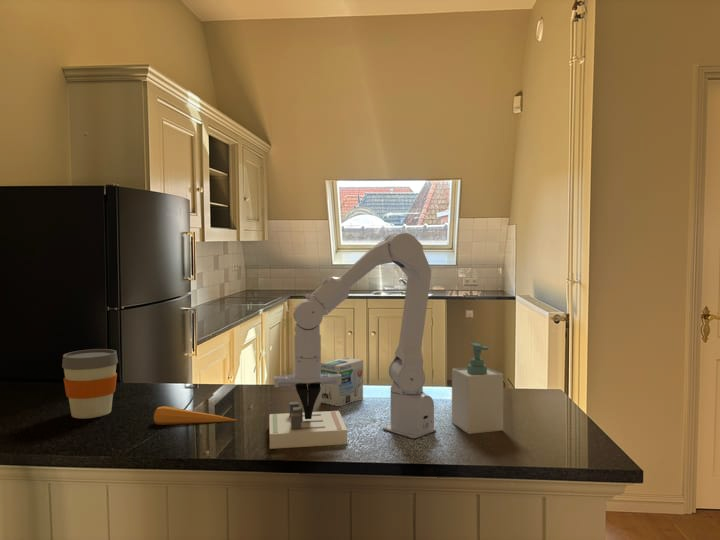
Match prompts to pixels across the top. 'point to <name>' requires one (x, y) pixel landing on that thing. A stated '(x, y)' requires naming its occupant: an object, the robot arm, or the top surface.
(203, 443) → the top surface
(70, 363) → the reusable coffee cup
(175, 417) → the carrot
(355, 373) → the light bulb box
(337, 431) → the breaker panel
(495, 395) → the soap bottle
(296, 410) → the block
